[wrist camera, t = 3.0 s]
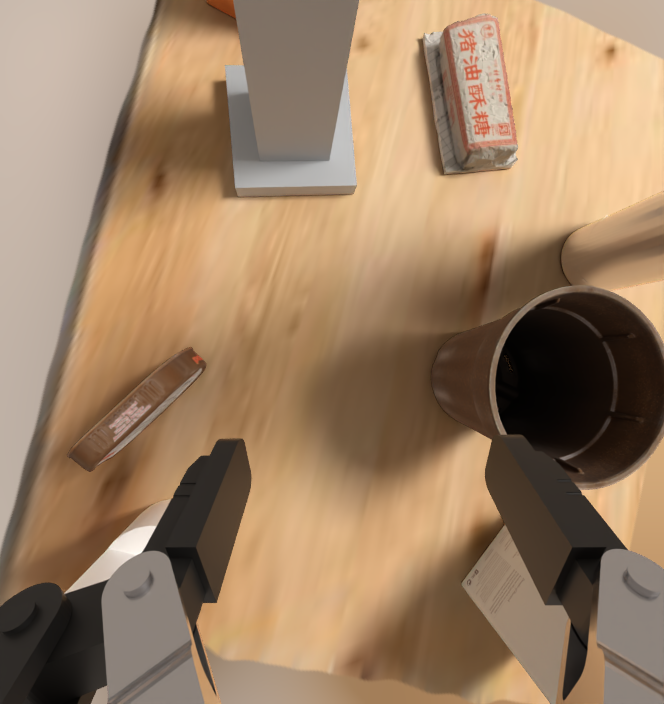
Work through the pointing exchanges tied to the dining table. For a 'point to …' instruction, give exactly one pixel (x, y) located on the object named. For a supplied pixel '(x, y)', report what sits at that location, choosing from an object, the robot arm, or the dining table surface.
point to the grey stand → (292, 98)
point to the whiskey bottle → (224, 6)
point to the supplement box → (519, 612)
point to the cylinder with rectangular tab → (123, 546)
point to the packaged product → (471, 96)
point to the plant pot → (563, 382)
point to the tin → (137, 409)
